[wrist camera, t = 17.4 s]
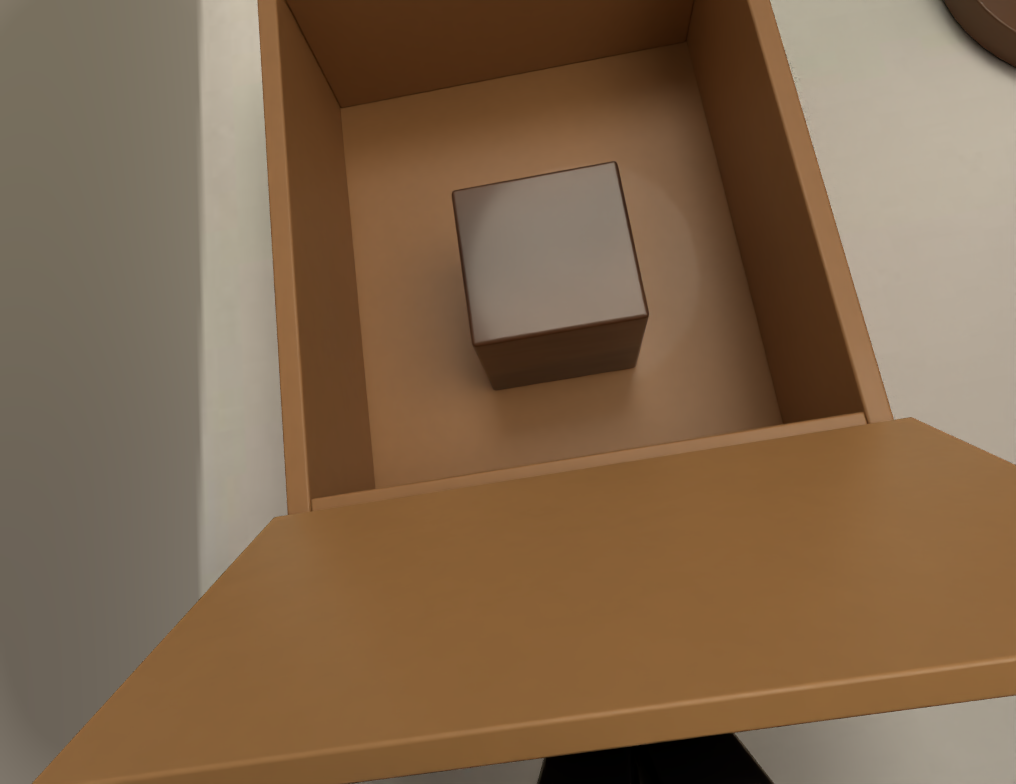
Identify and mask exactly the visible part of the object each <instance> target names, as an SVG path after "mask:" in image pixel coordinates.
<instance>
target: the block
mask: <svg viewBox="0 0 1016 784" xmlns="http://www.w3.org/2000/svg"><path fill="white" fill-rule="evenodd" d="M451 196H452V203H453V210H454V218H455V225H456V232H457V239H458V247H459V254H460V261H461V269H462V276H463V283H464V291H465V298H466V305H467V312H468V320H469V327H470V334H471V342H472V346H473V348H474V350H475V352H476V354H477V356H478V358H479V360H480V362H481V364H482V367H483V369H484V371H485V373H486V375H487V377H488V379H489V381H490V383H491V386H492V388H493V389H494V390H502V389H508V388H514V387H520V386H526V385H532V384H538V383H544V382H550V381H556V380H562V379H568V378H574V377H580V376H586V375H592V374H598V373H604V372H610V371H617V370H623V369H629V368H634V367H635V366H636V364H637V360H638V356H639V352H640V348H641V344H642V341H643V337H644V333H645V329H646V325H647V321H648V317H649V310H648V305H647V301H646V296H645V291H644V286H643V282H642V277H641V272H640V267H639V263H638V258H637V253H636V248H635V244H634V239H633V234H632V229H631V225H630V220H629V215H628V210H627V206H626V201H625V196H624V191H623V187H622V182H621V177H620V172H619V168H618V164H617V162H616V161H611V162H606V163H600V164H595V165H589V166H584V167H578V168H573V169H567V170H562V171H557V172H551V173H546V174H540V175H535V176H529V177H524V178H519V179H513V180H508V181H502V182H497V183H491V184H486V185H480V186H475V187H470V188H464V189H459V190H454V191H452V195H451Z"/></svg>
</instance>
